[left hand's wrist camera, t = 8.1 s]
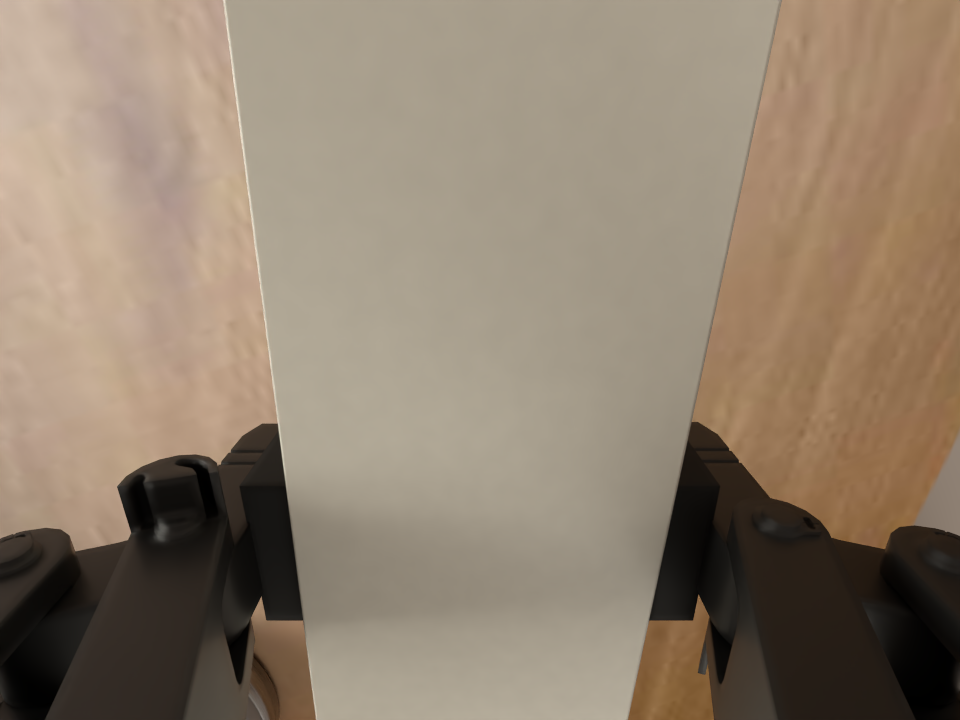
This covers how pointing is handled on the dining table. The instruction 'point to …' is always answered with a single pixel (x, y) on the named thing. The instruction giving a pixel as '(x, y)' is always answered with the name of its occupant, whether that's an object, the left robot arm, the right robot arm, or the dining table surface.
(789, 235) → the dining table surface
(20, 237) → the dining table surface
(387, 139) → the bar
